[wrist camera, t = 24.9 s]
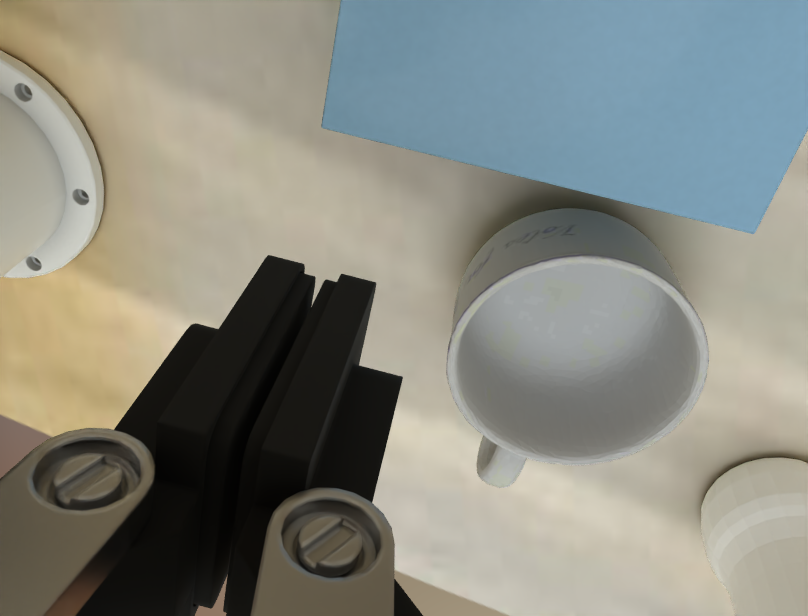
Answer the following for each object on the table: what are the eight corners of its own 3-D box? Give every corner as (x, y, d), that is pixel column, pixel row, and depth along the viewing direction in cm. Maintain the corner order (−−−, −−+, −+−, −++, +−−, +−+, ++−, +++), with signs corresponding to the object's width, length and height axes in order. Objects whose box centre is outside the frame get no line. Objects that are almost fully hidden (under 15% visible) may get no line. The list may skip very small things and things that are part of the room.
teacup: (548, 139, 35) (552, 207, 28) (727, 265, 37) (771, 358, 30) (389, 339, 42) (361, 434, 35) (546, 437, 44) (549, 544, 37)
